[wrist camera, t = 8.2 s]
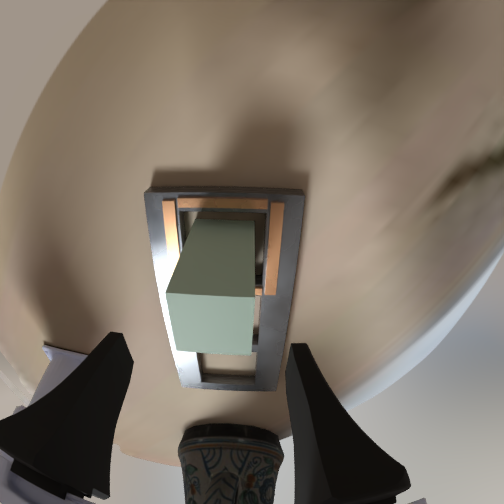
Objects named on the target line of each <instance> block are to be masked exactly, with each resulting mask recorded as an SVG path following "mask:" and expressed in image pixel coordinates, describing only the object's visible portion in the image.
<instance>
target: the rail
mask: <svg viewBox="0 0 504 504" xmlns="http://www.w3.org/2000/svg"><path fill="white" fill-rule="evenodd" d="M144 198H145V207H146V215H147V223H148V230H149V237H150V244H151V250H152V256H153V262H154V268H155V274H156V279H157V284H158V290H159V295H160V300H161V304H162V309H163V314H164V318H165V323H166V327H167V332H168V336H169V340H170V344H171V348H172V352H173V356H174V360H175V363H176V367H177V371H178V374H179V378H180V382H181V385H182V387H189V388H201V389H214V390H233V391H276V388H277V383H278V378H279V372H280V367H281V361H282V355H283V350H284V344H285V338H286V332H287V326H288V320H289V313H290V307H291V300H292V294H293V287H294V280H295V273H296V265H297V258H298V250H299V243H300V235H301V226H302V218H303V209H304V200H305V195H304V193H303V191H302V190H300V189H282V188H258V187H213V186H182V187H150V188H149V189H147V190H146V191H145V192H144ZM184 211H210V212H252V213H266V217H265V234H264V251H263V267H262V275H255V296H261V298H260V313H259V328H258V335H253V337H252V351H251V352H257V356H256V370H255V376H241V375H219V374H203V372H202V366H201V360H200V353H197V352H185V351H176V347H175V343H174V338H173V333H172V328H171V323H170V318H169V313H168V308H167V302H166V296H165V291H166V289H167V286H168V283H169V281H170V278H171V276H172V273H173V271H174V268H175V266H176V264H177V261H178V259H179V256H180V254H181V251H182V249H183V247H184V244H185V242H186V236H185V224H184Z"/></svg>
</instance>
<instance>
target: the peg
mask: <svg viewBox="0 0 504 504" xmlns="http://www.w3.org/2000/svg"><path fill="white" fill-rule="evenodd" d="M165 296H166V302H167V308H168V313H169V318H170V323H171V328H172V333H173V338H174V343H175V347H176V351H185V352H197V353H210V354H227V355H251V351H252V337H253V322H254V306H255V221H244V220H215V219H195V221H194V223H193V226H192V228H191V230H190V233H189V235H188V237H187V240H186V242H185V244H184V247H183V249H182V251H181V254H180V256H179V259H178V261H177V264H176V266H175V268H174V271H173V273H172V276H171V278H170V281H169V283H168V286H167V289H166V291H165Z"/></svg>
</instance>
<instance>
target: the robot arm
mask: <svg viewBox="0 0 504 504" xmlns="http://www.w3.org/2000/svg"><path fill="white" fill-rule="evenodd" d="M42 348H43V350H44V352H45V353H46V355H47V356H48V358H49V360H50V363H49V365H48V367H47V369H46V371H45V373H44V375H43V377H42V379H41V381H40V383H39V385H38V387H37V389H36V391H35V393H34V395H33V397H32V400H31V402H30V404H29V406H28V407H27V408H26V407H24V406H18V407H16V409H15V411H14V413H13V415H11V416H9V417H7V418H5V419H2V420H0V502H1V503H2V504H95V503H92V502H89V501H87V500H84V499H83V498H84V496H86V497H88V498H91V496H95V497H97V498H100V499H103V500H105V499H107V498H109V497H110V462H111V452H112V445H113V439H114V433H115V428H116V424H117V420H118V417H119V414H120V411H121V407H122V404H123V401H124V398H125V395H126V392H127V389H128V386H129V383H130V379H131V374H132V369H133V364H134V361H133V359H132V357H131V354H130V352H129V349H128V347H127V344H126V341H125V339H124V336H123V333H117V332H110V333H109V334H108V335H107V336H106V337H105V338H104V339H103V340H102V341H101V342H100V343H99V344H98V345H97V346H96V348H95V349H94V350H93V351H92V352H91V353H90V354H89V355H84V354H80V353H75V352H71V351H67V350H62V349H58V348H55V347H51V346H47V345H43V347H42ZM285 376H286V395H287V402H288V408H289V415H290V421H291V427H292V434H293V441H294V461H295V462H294V464H295V503H294V504H394V503H396V495H398V494H400V493H402V492H404V491H406V490H408V489H409V488H410V487H411V484H410V479H409V476H408V474H407V471H406V469H405V467H404V466H403V465H401V464H400V463H399V462H397V461H396V460H394V459H393V458H392V457H391V456H389V455H388V454H387V453H386V452H385V451H383V450H382V449H381V448H380V447H379V446H378V445H377V444H376V443H374V441H373V440H372V439H371V438H370V437H369V436H367V435H366V433H365V432H364V431H363V430H362V429H361V428H360V427H359V426H358V425H357V424H356V423H355V421H354V420H353V419H352V418H351V417H350V415H349V414H348V413H347V411H346V410H345V409H344V407H343V406H342V405H341V403H340V402H339V400H338V399H337V398H336V396H335V395H334V393H333V391H332V390H331V388H330V387H329V385H328V383H327V382H326V380H325V378H324V377H323V375H322V373H321V371H320V369H319V368H318V366H317V364H316V362H315V360H314V358H313V356H312V354H311V351H310V349H309V347H308V345H307V344H306V343H291V347H290V352H289V357H288V362H287V367H286V371H285ZM409 504H426V499H425V498H422V499H420V500H417V501H414V502H411V503H409Z"/></svg>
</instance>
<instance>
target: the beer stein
mask: <svg viewBox="0 0 504 504" xmlns="http://www.w3.org/2000/svg"><path fill="white" fill-rule="evenodd" d="M178 456H179V459H180V462H181V467H182V473H183V481H184V492H185V504H273V502H274V495H275V486H276V480H277V475H278V471H279V468H280V466H281V464H282V462H283V459H284V453H283V451H282V448H281V445H280V442H279V438H278V436H277V435H275V434H274V433H272V432H270V431H269V430H265V429H261V428H258V427H254V426H248V425H237V424H206V425H199V426H194V427H192V428H190V429H188V430H186V431H185V433H184V435H183V438H182V440H181V442H180V444H179V447H178Z"/></svg>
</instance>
